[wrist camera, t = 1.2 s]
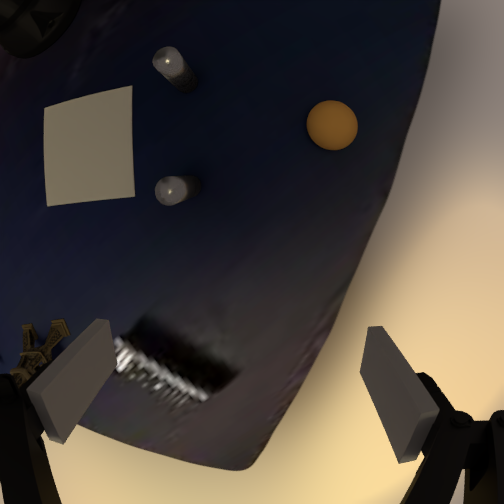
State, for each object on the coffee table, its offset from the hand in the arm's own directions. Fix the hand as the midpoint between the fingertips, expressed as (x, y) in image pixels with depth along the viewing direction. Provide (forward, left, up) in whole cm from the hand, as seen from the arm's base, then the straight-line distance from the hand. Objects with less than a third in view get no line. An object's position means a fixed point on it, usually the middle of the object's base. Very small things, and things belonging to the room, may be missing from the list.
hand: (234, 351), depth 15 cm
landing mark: (-13, -21, -23) cm, 34 cm away
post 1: (-20, -7, -23) cm, 31 cm away
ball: (-13, +9, -21) cm, 26 cm away
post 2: (-7, -7, -23) cm, 25 cm away
